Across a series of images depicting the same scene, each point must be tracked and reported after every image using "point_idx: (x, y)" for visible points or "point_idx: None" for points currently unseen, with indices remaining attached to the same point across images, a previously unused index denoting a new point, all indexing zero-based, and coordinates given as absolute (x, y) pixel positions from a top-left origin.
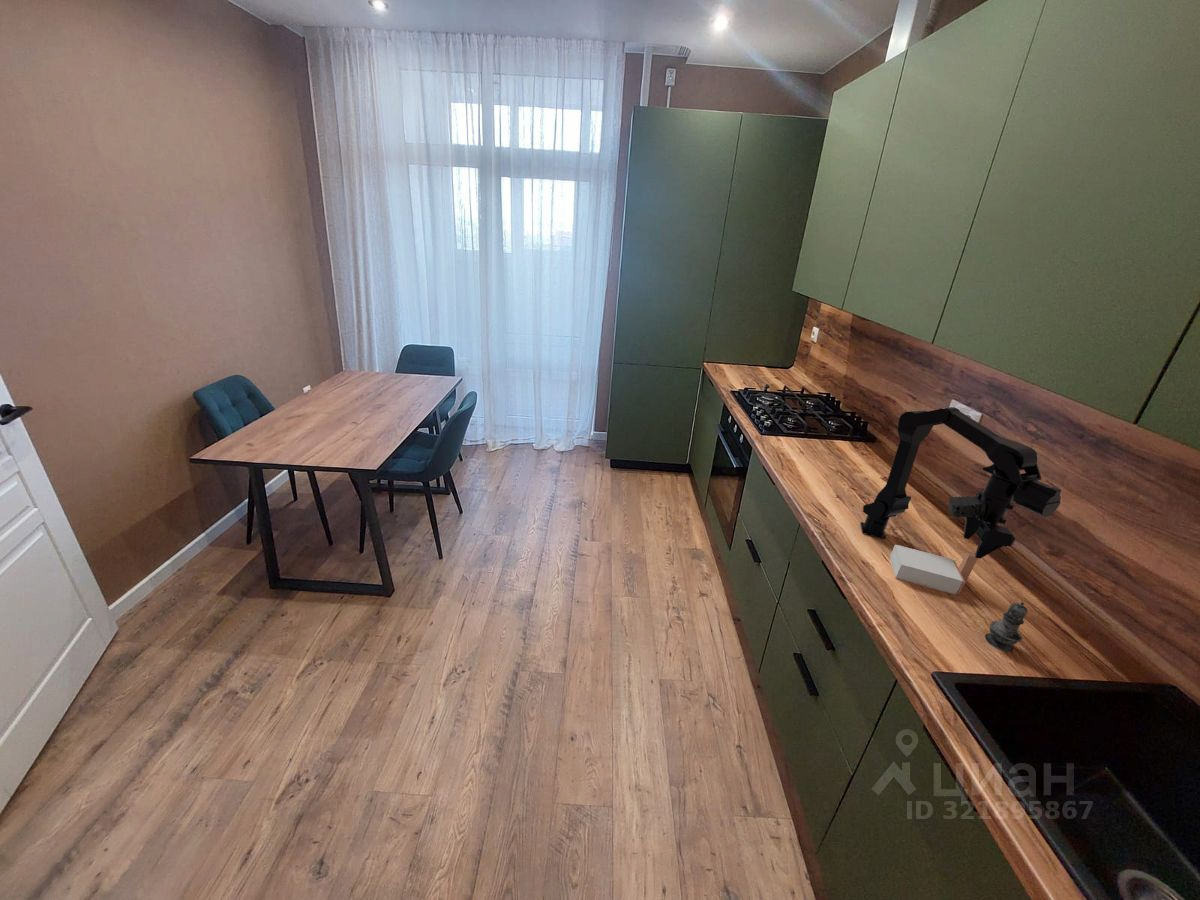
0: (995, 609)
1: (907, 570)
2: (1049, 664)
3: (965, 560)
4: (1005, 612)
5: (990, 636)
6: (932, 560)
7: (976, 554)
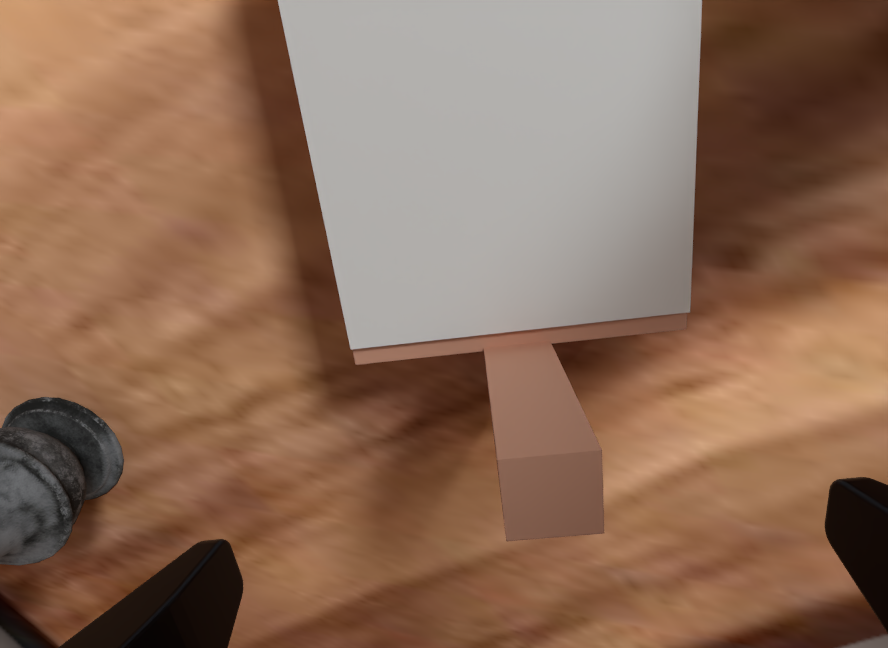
0: (371, 483)
1: None
2: (84, 599)
3: (512, 406)
4: None
5: (53, 422)
6: (554, 125)
7: (145, 583)
